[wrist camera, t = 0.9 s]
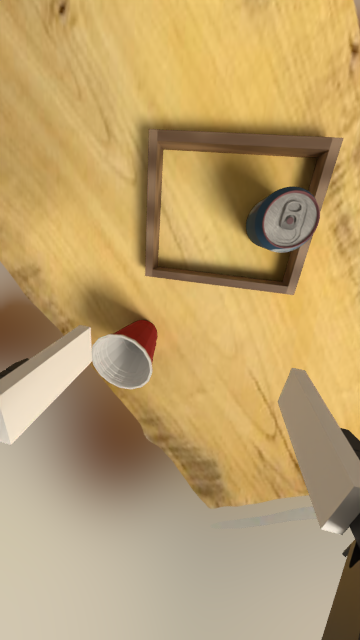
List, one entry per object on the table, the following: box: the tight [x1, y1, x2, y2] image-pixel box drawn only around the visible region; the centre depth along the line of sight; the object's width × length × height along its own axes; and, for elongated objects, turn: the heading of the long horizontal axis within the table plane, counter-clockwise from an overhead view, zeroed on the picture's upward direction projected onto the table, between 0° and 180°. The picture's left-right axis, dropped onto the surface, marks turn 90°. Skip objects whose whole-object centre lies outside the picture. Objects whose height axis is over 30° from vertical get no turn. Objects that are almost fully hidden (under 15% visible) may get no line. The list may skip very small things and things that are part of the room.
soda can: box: [246, 187, 320, 252], centre depth 29 cm, size 7×7×12 cm
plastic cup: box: [92, 320, 157, 389], centre depth 40 cm, size 11×11×12 cm
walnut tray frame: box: [145, 129, 343, 295], centre depth 33 cm, size 20×25×4 cm
